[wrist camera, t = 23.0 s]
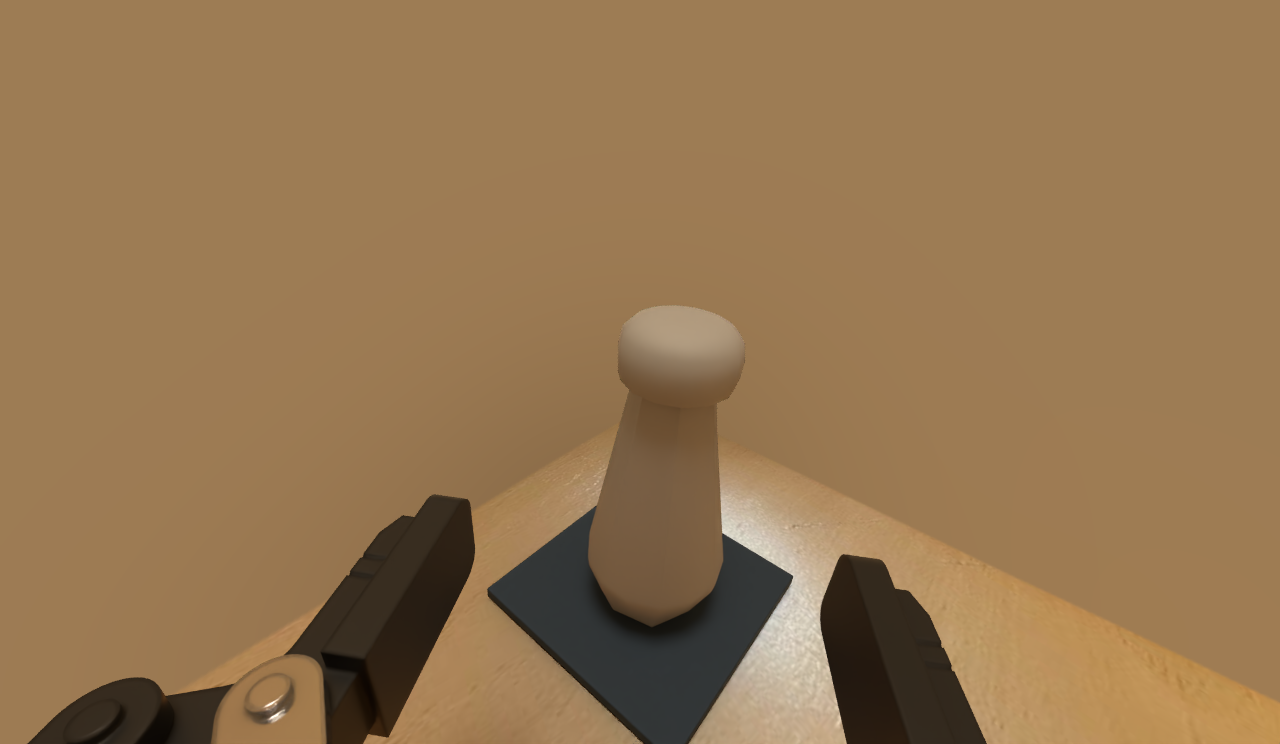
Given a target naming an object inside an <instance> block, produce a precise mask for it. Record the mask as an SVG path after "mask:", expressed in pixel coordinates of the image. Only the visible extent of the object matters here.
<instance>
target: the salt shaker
mask: <svg viewBox="0 0 1280 744" xmlns="http://www.w3.org/2000/svg"><path fill="white" fill-rule="evenodd" d="M744 363H745V343H744V341H743V339H742V337H741V335H740V333H739V331H738V330H737V329H736V328H735V327H734V325H733V324H732V323H731V322H729V321H727V320H726V319H724V318H723V317H721V316H719V315H717V314H714V313H711V312H708V311H705V310H702V309H699V308H692V307H685V306H656V307H652V308H648V309H644V310H642V311H640V312H639V313H637V314H636V315H635V316H633V317H632V318H631V319H630V320H628V321H627V322H626V323H625V324H623V326H622V330H621V334H620V337H619V341H618V373H619V376H620V380H621V381H622V382H623V383H624V384H625V386H626V387H627V388H628V389H629V393H628V396H627V400H626V404H625V407H624V411H623V415H622V418H621V422H620V425H619V429H618V432H617V436H616V439H615V443H614V447H613V450H612V454H611V457H610V461H609V465H608V468H607V472H606V475H605V479H604V483H603V486H602V490H601V493H600V497H599V500H598V504H597V508H596V511H595V515H594V518H593V522H592V526H591V529H590V534H589V548H588V560H589V566H590V568H591V570H592V572H593V574H594V576H595V578H596V579H597V581H598V583H599V585H600V587H601V589H602V591H603V593H604V595H605V596H606V598H607V600H608V602H609V603H610V605H611V607H612V609H613V610H615V611H618V612H620V613H622V614H624V615H626V616H628V617H631V618H633V619H635V620H637V621H639V622H641V623H644V624H646V625H648V626H650V627H654V626H656V625H658V624H661V623H663V622H665V621H667V620H670V619H672V618H674V617H677V616H679V615H681V614H683V613H686V612H688V611H689V610H691V609H692V608H693V607H694V606H695V605H696V604H698V603H699V602H700V601H701V600H702V599H704V598H705V597H706V596H707V595H708V594H709V593H711V592H712V590H713V588H714V586H715V584H716V581H717V578H718V575H719V572H720V569H721V566H722V563H723V543H722V522H721V501H720V480H719V459H718V438H717V403H718V402H721V401H723V400H725V399H728V398H729V396H730V395H731V394H732V392H733V390H734V389H735V387H736V385H737V383H738V381H739V379H740V376H741V373H742V370H743V366H744Z"/></svg>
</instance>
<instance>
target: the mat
mask: <svg viewBox="0 0 1280 744" xmlns="http://www.w3.org/2000/svg"><path fill="white" fill-rule="evenodd" d="M596 508H597V506H595V507H594V508H593V509H591V510H590V511H589V512H587V513H586V514H585V515H584V516H582V517H581V518H580V519H578V520H577V521H576V522H574V523H573V524H572V525H570V526H569V527H568V528H566V529H565V530H564V531H563V532H561V533H560V534H559V535H557V536H556V537H555V538H553V539H552V540H551V541H549V542H548V543H547V544H545V545H544V546H543V547H542V548H540V549H539V550H538V551H536V552H535V553H534V554H532V555H531V556H530V557H528V558H527V559H526V560H524V561H523V562H522V563H520V564H519V565H518V566H517V567H515V568H514V569H513V570H511V571H510V572H509V573H507V574H506V575H505V576H503V577H502V578H501V579H499V580H498V581H497V582H496V583H494V584H493V585H492V586H490V587H489V588H488V589H487V590H488V596H489V597H490V598H491V599H492V600H493V601H494V602H495V603H496V604H497V605H498V606H499V607H501V608H502V609H503V610H504V611H505V612H506V613H507V614H508V615H509V616H510V617H511V618H512V619H513V620H514V621H515V622H516V623H517V624H519V625H520V626H521V627H522V628H523V629H524V630H525V631H526V632H527V633H528V634H529V635H530V636H531V637H532V638H533V639H534V640H535V641H537V642H538V643H539V644H540V645H541V646H542V647H543V648H544V649H545V650H546V651H547V652H548V653H549V654H550V655H551V656H552V657H553V658H555V659H556V660H557V661H558V662H559V663H560V664H561V665H562V666H563V667H564V668H565V669H566V670H567V671H568V672H569V673H570V674H571V675H573V676H574V677H575V678H576V679H577V680H578V681H579V682H580V683H581V684H582V685H583V686H584V687H585V688H586V689H587V690H588V691H590V692H591V693H592V694H593V695H594V696H595V697H596V698H597V699H598V700H599V701H600V702H601V703H602V704H603V705H604V706H605V707H606V708H608V709H609V710H610V711H611V712H612V713H613V714H614V715H615V716H616V717H617V718H618V719H619V720H620V721H621V722H622V723H623V724H624V725H626V726H627V727H628V728H629V729H630V730H631V731H632V732H633V733H634V734H635V735H636V736H637V737H638V738H639V739H640V740H641V741H642V742H644V743H645V744H688V743H689V741H690V740H691V738H692V737H693V735H694V733H695V732H696V730H697V729H698V727H699V726H700V724H701V723H702V721H703V719H704V718H705V716H706V715H707V713H708V712H709V710H710V709H711V707H712V705H713V704H714V702H715V701H716V699H717V698H718V696H719V695H720V693H721V691H722V690H723V688H724V687H725V685H726V684H727V682H728V681H729V679H730V677H731V676H732V674H733V673H734V671H735V670H736V668H737V667H738V665H739V663H740V662H741V660H742V659H743V657H744V656H745V654H746V652H747V651H748V649H749V648H750V646H751V645H752V643H753V642H754V640H755V638H756V637H757V635H758V634H759V632H760V631H761V629H762V628H763V626H764V624H765V623H766V621H767V620H768V618H769V617H770V615H771V614H772V612H773V610H774V609H775V607H776V606H777V604H778V603H779V601H780V600H781V598H782V596H783V595H784V593H785V592H786V590H787V589H788V587H789V586H790V584H791V582H792V579H793V576H792V575H791V574H789V573H787V572H786V571H784V570H782V569H781V568H779V567H777V566H776V565H774V564H772V563H771V562H769V561H767V560H766V559H764V558H763V557H761V556H759V555H758V554H756V553H754V552H753V551H751V550H749V549H748V548H746V547H744V546H743V545H741V544H739V543H738V542H736V541H734V540H733V539H731V538H729V537H728V536H726V535H724V534H723V533H722V543H723V563H722V566H721V569H720V572H719V575H718V578H717V581H716V584H715V586H714V588H713V590H712V592H711V593H709V594H708V595H707V596H706V597H705V598H704V599H702V600H701V601H700V602H699V603H698V604H696V605H695V606H694V607H693V608H692V609H691V610H689V611H688V612H686V613H683V614H681V615H679V616H677V617H674V618H672V619H670V620H667V621H665V622H663V623H661V624H658V625H656V626H654V627H650V626H648V625H646V624H644V623H641V622H639V621H637V620H635V619H633V618H631V617H628V616H626V615H624V614H622V613H620V612H618V611H615V610H613V609H612V607H611V605H610V603H609V602H608V600H607V598H606V596H605V595H604V593H603V591H602V589H601V587H600V585H599V583H598V581H597V579H596V578H595V576H594V574H593V572H592V570H591V568H590V566H589V560H588V548H589V534H590V529H591V526H592V522H593V518H594V515H595V511H596Z"/></svg>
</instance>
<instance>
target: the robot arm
mask: <svg viewBox="0 0 1280 744" xmlns="http://www.w3.org/2000/svg"><path fill="white" fill-rule="evenodd" d="M474 555H475V543H474V534H473V525H472V516H471V507H470V502H469V501H468V499H462V498H455V497H448V496H442V495H432V496H430V497H429V498H428V499H427V500H426V502H425V503H424V505H423V506H422V508H421V509H420V510H419V512H418V513H417V515H416V516H415V517H410V516H401V517H400V518H399V519H397V520H396V521H394V522H393V523H392V524H390V525H389V526H388V527H386V528H385V529H384V530H382V531H381V532H380V533H379V534H378V535H377V536H376V538H375V539H374V541H373V542H372V543H371V544H370V546H369V547H368V548H367V550H366V551H365V552H364V555H363V557H362V558H360V559H359V560H358V561H357V563H356V564H355V565H354V567H353V568H352V569H351V571H350V575H349V576H346V577H345V578H344V580H343V581H342V582H341V584H340V585H339V586H338V588H337V589H336V590H335V592H334V593H333V594H332V596H331V597H330V598H329V599H328V601H327V602H326V603H325V605H324V606H323V607H322V609H321V610H320V611H319V613H318V614H317V615H316V617H315V618H314V619H313V621H312V622H311V623H310V624H309V626H308V627H307V628H306V630H305V631H304V632H303V634H302V635H301V636H300V638H299V639H298V640H297V642H296V643H295V644H294V645H293V646H292V648H291V649H290V650H289V651H288V652H287V653H286V654H285V655H284V656H280V657H277V658H274V659H271V660H269V661H266V662H264V663H262V664H260V665H259V666H257V667H255V668H254V669H252V670H251V671H249V672H248V673H247V674H245V675H244V676H243V677H242V678H241V679H239V680H238V681H237V682H236V683H235V684H231V685H227V686H222V687H216V688H210V689H204V690H199V691H193V692H187V693H181V694H175V695H169V696H165V695H164V693H163V692H162V690H161V689H160V687H159V686H158V685H157V684H156V683H155V682H154V681H152V680H150V679H146V678H127V679H122V680H119V681H115V682H112V683H109V684H106V685H104V686H101V687H99V688H97V689H95V690H93V691H91V692H89V693H87V694H86V695H84V696H82V697H81V698H79V699H77V700H76V701H75V702H73V703H71V704H70V705H69V706H67V707H66V708H65V709H64V710H62V711H61V712H60V713H59V714H58V715H56V716H55V717H54V718H53V719H52V720H51V721H50V722H49V723H48V724H47V725H46V726H45V727H44V728H43V729H42V730H41V731H40V732H39V733H38V734H37V735H36V736H35V737H34V738H33V739H32V740H31V741H30V742H29V743H28V744H363V742H364V740H365V739H366V737H367V735H368V734H371V735H377V736H382V737H389V735H390V733H391V731H392V729H393V727H394V725H395V723H396V721H397V719H398V717H399V715H400V713H401V711H402V709H403V707H404V705H405V703H406V701H407V699H408V697H409V695H410V693H411V691H412V689H413V687H414V685H415V683H416V681H417V679H418V677H419V675H420V673H421V671H422V669H423V667H424V665H425V663H426V661H427V659H428V657H429V655H430V653H431V651H432V649H433V647H434V645H435V643H436V641H437V639H438V637H439V635H440V633H441V631H442V629H443V627H444V625H445V623H446V621H447V619H448V617H449V615H450V613H451V611H452V609H453V607H454V605H455V603H456V601H457V599H458V597H459V595H460V593H461V591H462V589H463V587H464V585H465V583H466V581H467V579H468V577H469V574H470V572H471V569H472V565H473V561H474ZM820 622H821V631H822V636H823V641H824V645H825V649H826V654H827V658H828V663H829V667H830V672H831V676H832V680H833V685H834V689H835V694H836V698H837V702H838V707H839V711H840V716H841V720H842V724H843V729H844V733H845V738H846V742H847V744H987V743H986V741H985V739H984V737H983V734H982V732H981V730H980V728H979V725H978V723H977V721H976V719H975V717H974V714H973V712H972V710H971V708H970V705H969V703H968V701H967V699H966V696H965V694H964V692H963V690H962V687H961V685H960V683H959V681H958V678H957V676H956V674H955V672H954V671H952V669H951V666H952V665H951V663H950V661H949V658H948V656H947V654H946V652H945V649H944V648H942V647H941V640H940V638H939V636H938V634H937V631H936V629H935V627H934V625H933V622H932V620H931V618H930V616H929V614H928V613H927V612H926V611H925V610H924V609H923V607H922V606H921V605H920V604H919V603H918V601H917V600H916V599H915V598H914V597H913V596H912V594H911V593H910V592H909V591H907V590H900V589H895V587H894V585H893V582H892V580H891V577H890V575H889V572H888V570H887V567H886V565H885V564H884V562H883V561H882V560H880V559H873V558H866V557H859V556H852V555H845V554H843V555H841V556H840V558H839V560H838V562H837V565H836V567H835V570H834V572H833V575H832V577H831V580H830V583H829V585H828V588H827V590H826V593H825V595H824V598H823V601H822V605H821V613H820Z"/></svg>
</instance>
